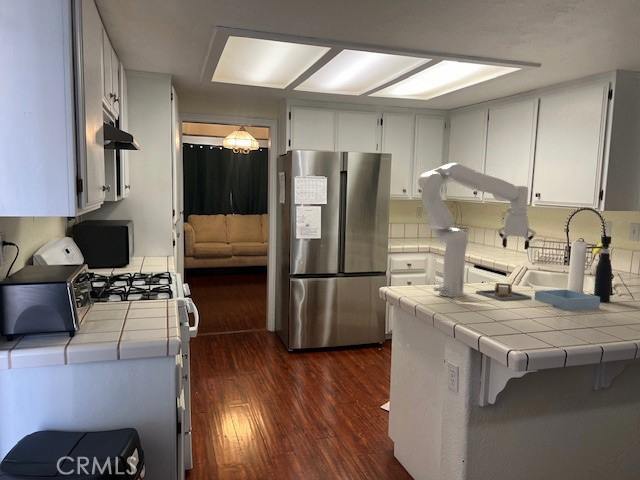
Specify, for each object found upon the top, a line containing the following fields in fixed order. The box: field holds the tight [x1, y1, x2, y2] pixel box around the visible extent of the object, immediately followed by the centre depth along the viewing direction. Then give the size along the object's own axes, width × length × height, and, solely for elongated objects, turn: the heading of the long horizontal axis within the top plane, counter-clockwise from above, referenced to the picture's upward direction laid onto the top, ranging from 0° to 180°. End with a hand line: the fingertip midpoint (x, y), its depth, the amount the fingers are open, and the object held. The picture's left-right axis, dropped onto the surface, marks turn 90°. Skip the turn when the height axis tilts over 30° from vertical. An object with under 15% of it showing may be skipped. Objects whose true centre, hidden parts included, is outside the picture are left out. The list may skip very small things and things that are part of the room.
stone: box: [498, 285, 508, 294], centre depth 224 cm, size 4×4×4 cm
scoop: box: [494, 282, 513, 298], centre depth 223 cm, size 7×12×5 cm, turn 159°
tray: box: [475, 289, 532, 302], centre depth 223 cm, size 17×17×2 cm
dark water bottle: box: [593, 235, 613, 303], centre depth 222 cm, size 6×6×30 cm
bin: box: [534, 289, 601, 312], centre depth 212 cm, size 18×18×5 cm
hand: (515, 248), depth 229 cm, fingers open, 9 cm apart
